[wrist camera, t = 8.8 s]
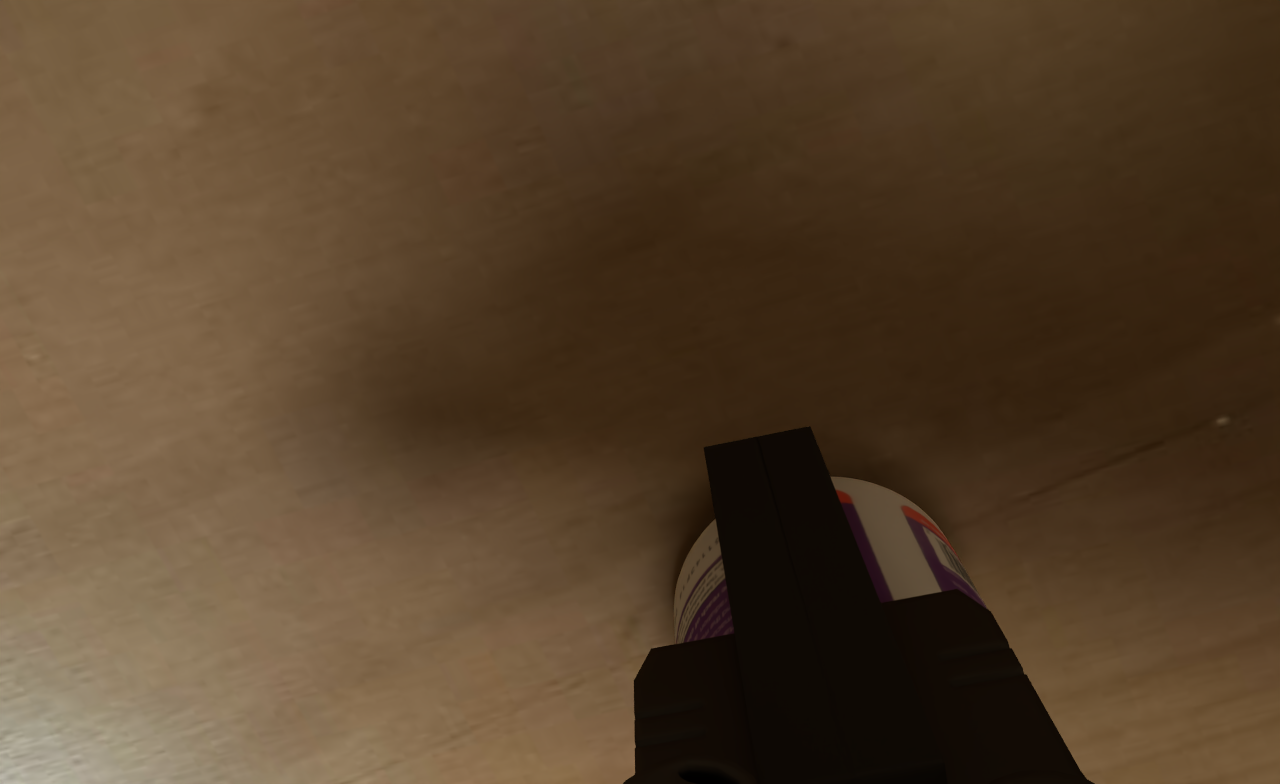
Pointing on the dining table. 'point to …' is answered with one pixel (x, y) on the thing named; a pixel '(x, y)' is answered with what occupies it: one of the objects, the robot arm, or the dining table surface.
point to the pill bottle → (886, 536)
